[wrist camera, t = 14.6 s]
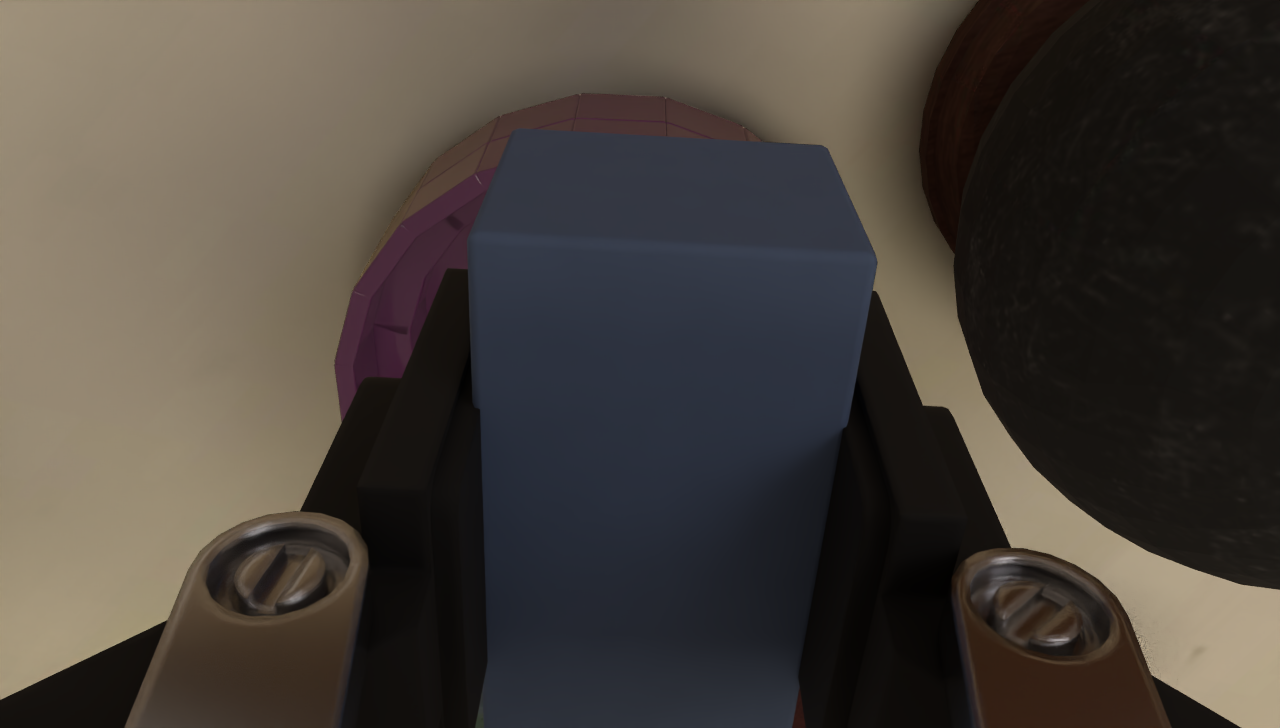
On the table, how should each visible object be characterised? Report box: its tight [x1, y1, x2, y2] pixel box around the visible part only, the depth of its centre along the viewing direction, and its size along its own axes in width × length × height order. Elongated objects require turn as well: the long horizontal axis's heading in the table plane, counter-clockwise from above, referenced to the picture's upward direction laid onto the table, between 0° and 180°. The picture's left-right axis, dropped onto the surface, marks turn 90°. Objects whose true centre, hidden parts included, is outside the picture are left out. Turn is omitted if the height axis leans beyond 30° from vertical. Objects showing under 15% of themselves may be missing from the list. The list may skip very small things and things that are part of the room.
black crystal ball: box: [919, 0, 1280, 590], centre depth 21 cm, size 13×13×15 cm
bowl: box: [334, 93, 763, 421], centre depth 29 cm, size 14×14×5 cm
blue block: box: [467, 128, 877, 728], centre depth 11 cm, size 6×3×3 cm, turn 177°
